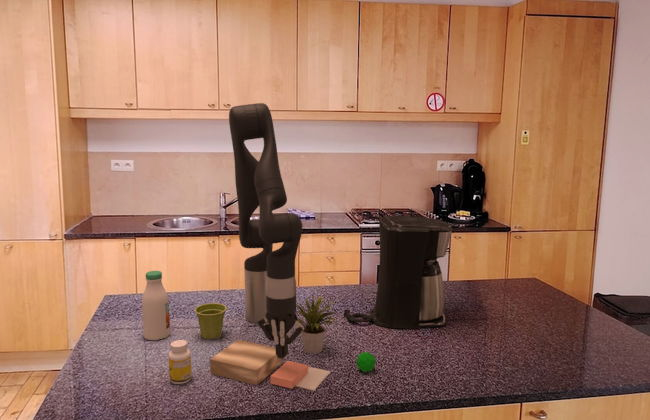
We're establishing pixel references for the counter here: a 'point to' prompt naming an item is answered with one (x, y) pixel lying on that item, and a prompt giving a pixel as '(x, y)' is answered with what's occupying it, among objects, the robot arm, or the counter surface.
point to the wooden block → (245, 362)
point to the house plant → (314, 325)
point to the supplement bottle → (180, 362)
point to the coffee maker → (409, 273)
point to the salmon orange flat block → (289, 374)
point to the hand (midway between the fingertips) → (281, 357)
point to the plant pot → (211, 319)
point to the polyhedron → (366, 362)
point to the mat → (312, 378)
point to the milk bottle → (155, 308)
